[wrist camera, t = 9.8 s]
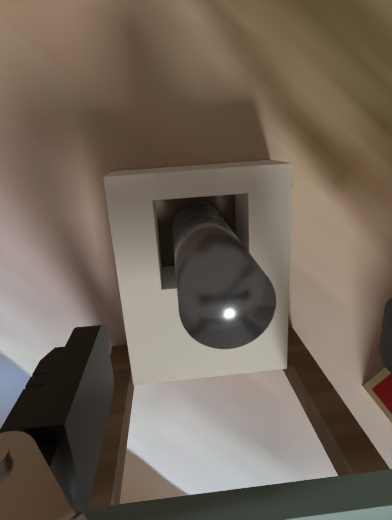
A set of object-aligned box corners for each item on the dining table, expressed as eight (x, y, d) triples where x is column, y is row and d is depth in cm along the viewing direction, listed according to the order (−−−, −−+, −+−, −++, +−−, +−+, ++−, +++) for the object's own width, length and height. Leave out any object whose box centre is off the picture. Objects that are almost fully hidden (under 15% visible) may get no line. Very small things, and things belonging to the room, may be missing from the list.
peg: (174, 253, 24) (182, 353, 12) (170, 203, 23) (174, 264, 11) (223, 248, 24) (275, 344, 13) (221, 199, 23) (277, 255, 12)
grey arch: (104, 316, 25) (23, 554, 10) (296, 298, 26) (463, 495, 11) (113, 365, 26) (50, 635, 12) (294, 346, 27) (442, 577, 13)
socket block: (113, 170, 22) (102, 177, 18) (270, 159, 22) (292, 163, 19) (137, 350, 26) (133, 385, 22) (269, 336, 27) (287, 368, 23)
